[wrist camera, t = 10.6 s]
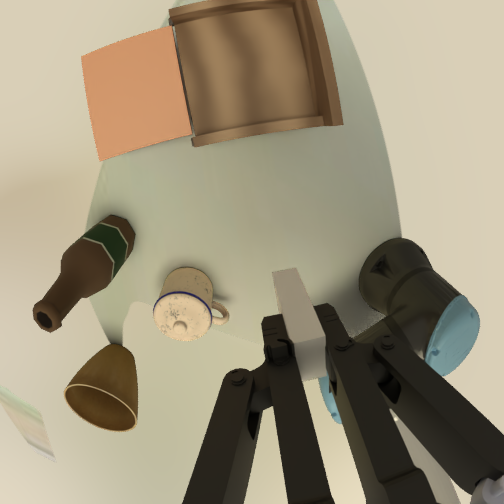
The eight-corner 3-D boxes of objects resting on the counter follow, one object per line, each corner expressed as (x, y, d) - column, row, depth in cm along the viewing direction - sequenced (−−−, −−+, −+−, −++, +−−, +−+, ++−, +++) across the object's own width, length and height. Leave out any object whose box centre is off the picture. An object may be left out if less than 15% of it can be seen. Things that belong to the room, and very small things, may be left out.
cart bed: (287, 19, 33) (311, -19, 20) (309, 125, 40) (343, 124, 27) (178, 36, 33) (157, 1, 20) (199, 144, 40) (185, 150, 27)
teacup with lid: (158, 300, 50) (144, 342, 40) (169, 258, 47) (154, 295, 37) (220, 319, 53) (219, 363, 42) (237, 279, 50) (239, 320, 39)
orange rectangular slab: (171, 25, 25) (81, 56, 25) (192, 134, 31) (99, 161, 31) (173, 30, 27) (86, 59, 26) (193, 134, 33) (104, 159, 32)
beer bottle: (132, 211, 43) (57, 287, 22) (140, 255, 47) (85, 351, 25) (92, 216, 43) (6, 288, 21) (101, 258, 46) (34, 346, 24)
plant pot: (159, 378, 59) (147, 435, 44) (103, 376, 58) (84, 427, 44) (140, 328, 53) (118, 389, 38) (79, 328, 52) (50, 381, 38)
